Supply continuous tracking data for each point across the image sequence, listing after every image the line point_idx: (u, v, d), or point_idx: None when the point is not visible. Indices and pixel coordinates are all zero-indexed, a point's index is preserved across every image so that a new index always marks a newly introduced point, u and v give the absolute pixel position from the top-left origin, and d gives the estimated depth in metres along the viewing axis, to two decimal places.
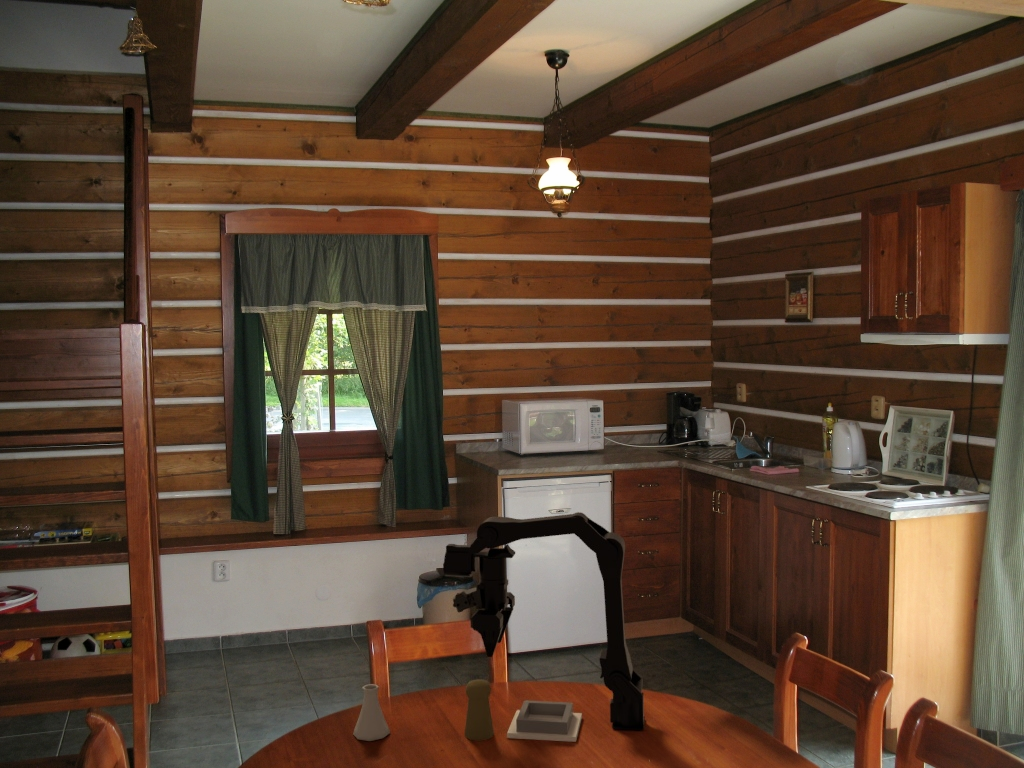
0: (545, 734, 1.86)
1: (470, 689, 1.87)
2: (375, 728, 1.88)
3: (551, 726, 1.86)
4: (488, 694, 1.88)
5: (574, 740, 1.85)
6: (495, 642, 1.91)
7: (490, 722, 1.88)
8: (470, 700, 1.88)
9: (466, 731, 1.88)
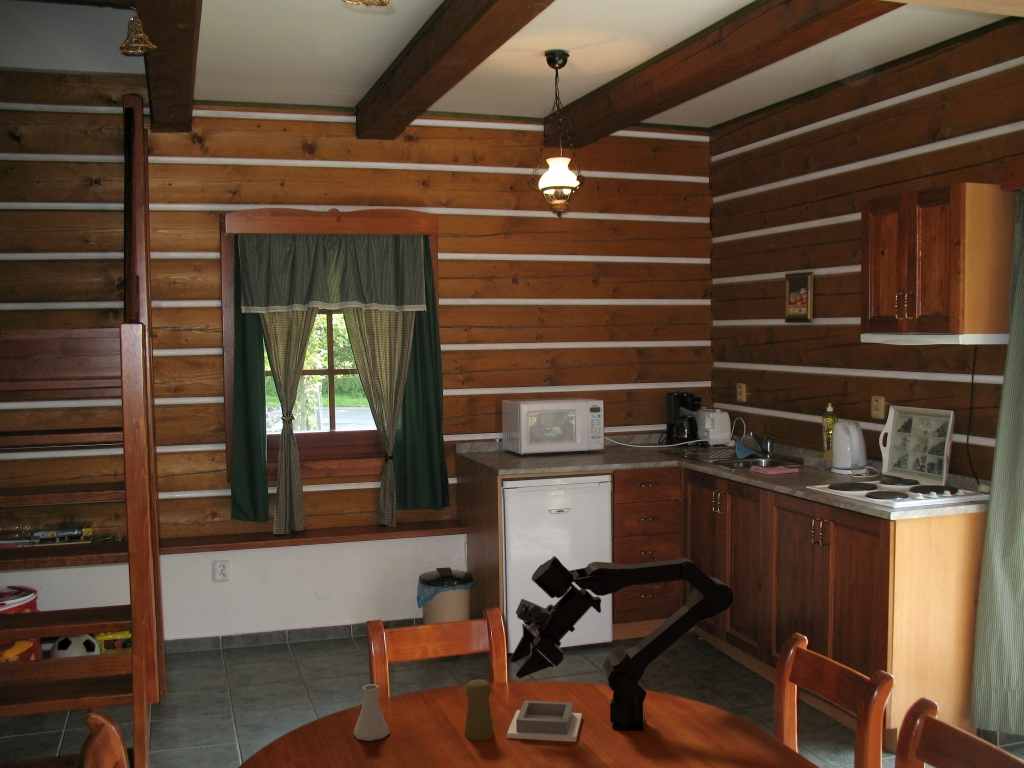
0: (545, 734, 1.86)
1: (470, 689, 1.87)
2: (375, 728, 1.88)
3: (551, 726, 1.86)
4: (488, 694, 1.88)
5: (574, 740, 1.85)
6: (535, 670, 1.84)
7: (490, 722, 1.88)
8: (470, 700, 1.88)
9: (466, 731, 1.88)
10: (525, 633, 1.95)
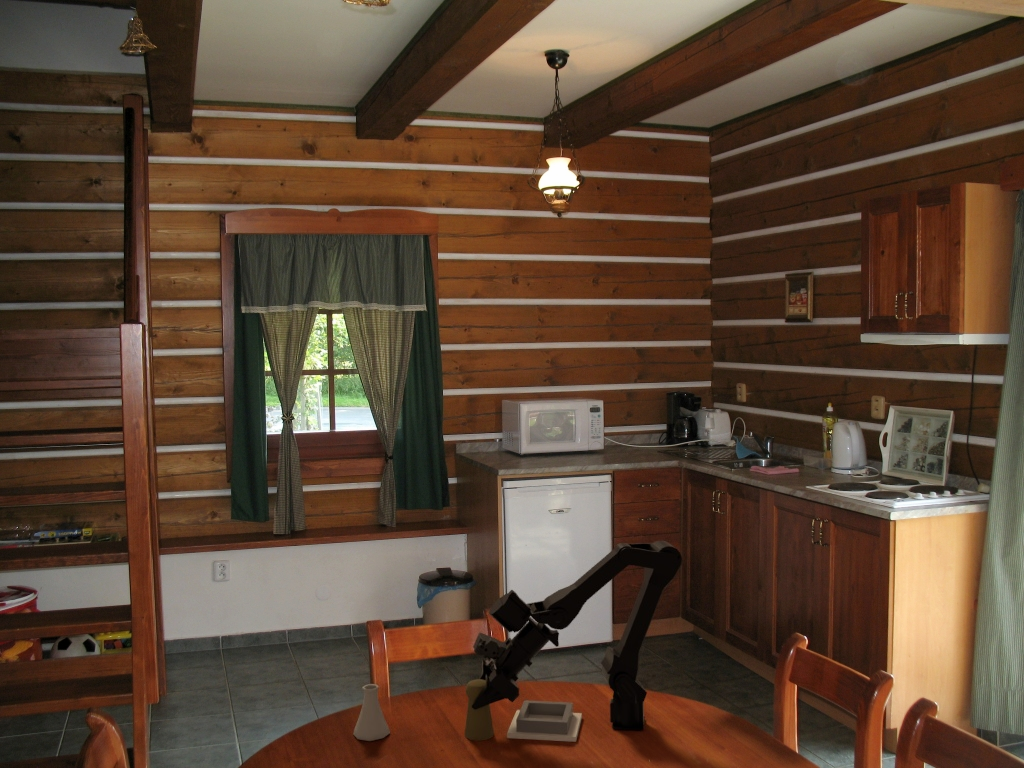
0: (545, 734, 1.86)
1: (470, 689, 1.87)
2: (375, 728, 1.88)
3: (551, 726, 1.86)
4: None
5: (574, 740, 1.85)
6: (490, 702, 1.85)
7: (490, 722, 1.88)
8: (470, 700, 1.88)
9: (466, 731, 1.88)
10: (484, 669, 1.92)
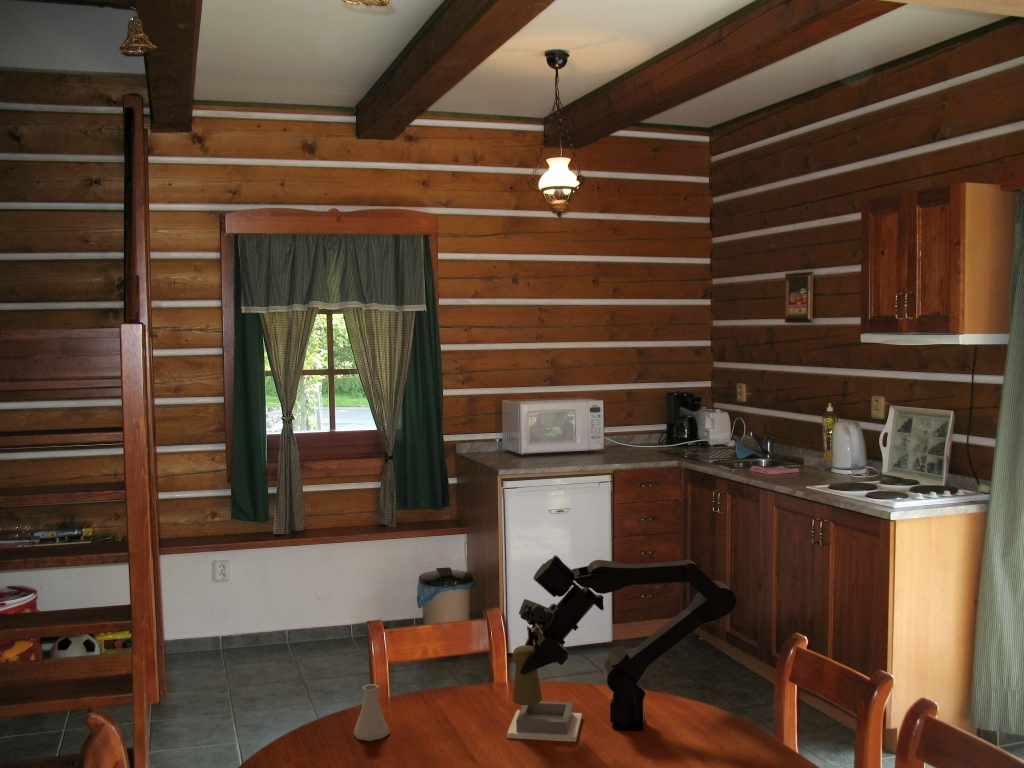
0: (545, 734, 1.86)
1: (517, 655, 1.89)
2: (375, 728, 1.88)
3: (551, 726, 1.86)
4: None
5: (574, 740, 1.85)
6: (538, 666, 1.87)
7: (538, 687, 1.90)
8: (518, 666, 1.89)
9: (515, 697, 1.89)
10: (530, 636, 1.94)
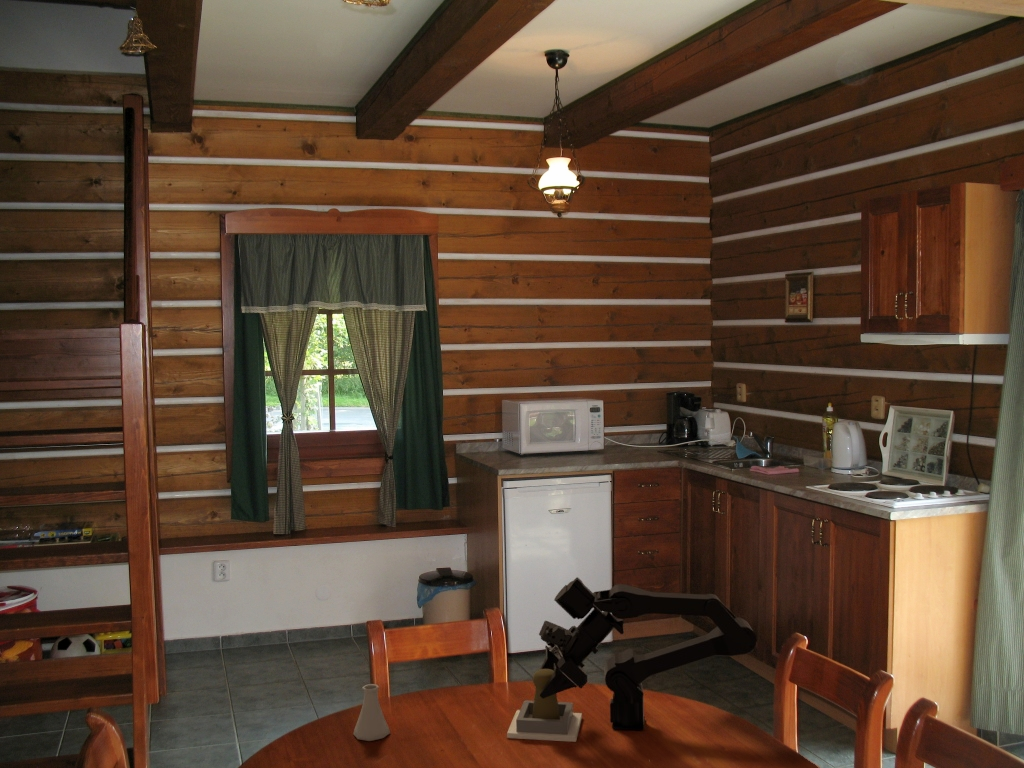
0: (545, 734, 1.86)
1: (537, 678, 1.90)
2: (375, 728, 1.88)
3: (551, 726, 1.86)
4: None
5: (574, 740, 1.85)
6: (558, 691, 1.87)
7: (557, 711, 1.91)
8: (538, 689, 1.90)
9: None
10: (548, 655, 1.96)
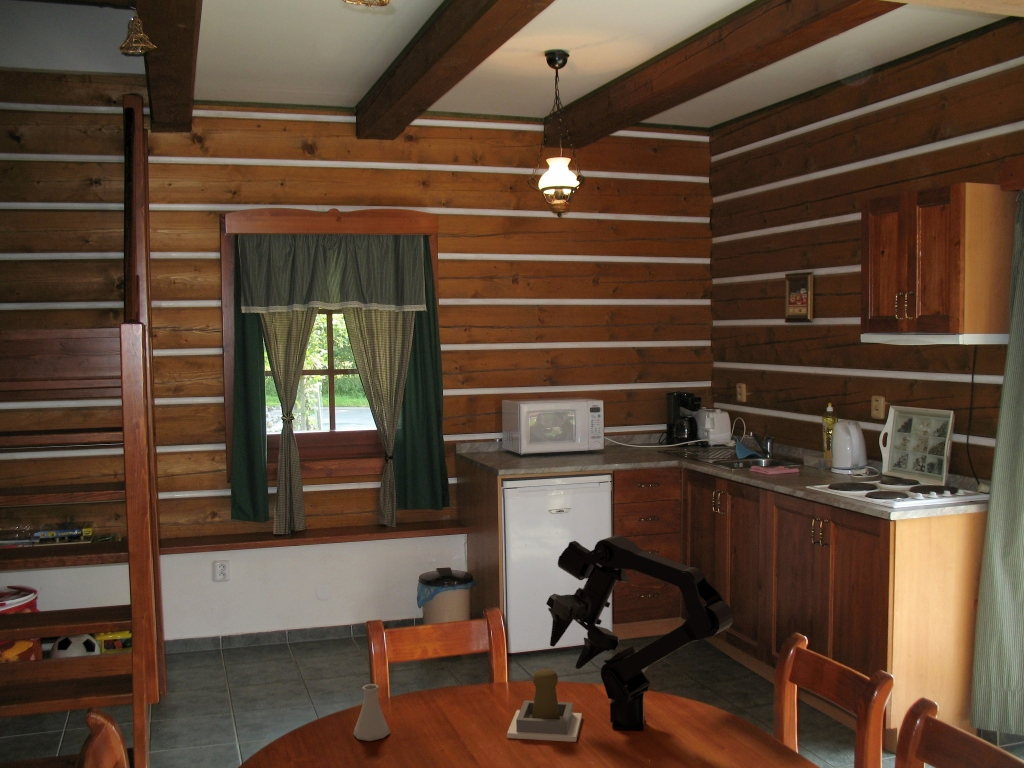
0: (545, 734, 1.86)
1: (537, 678, 1.90)
2: (375, 728, 1.88)
3: (551, 726, 1.86)
4: (555, 683, 1.90)
5: (574, 740, 1.85)
6: (592, 657, 1.92)
7: (557, 711, 1.91)
8: (537, 689, 1.90)
9: None
10: (557, 618, 1.99)
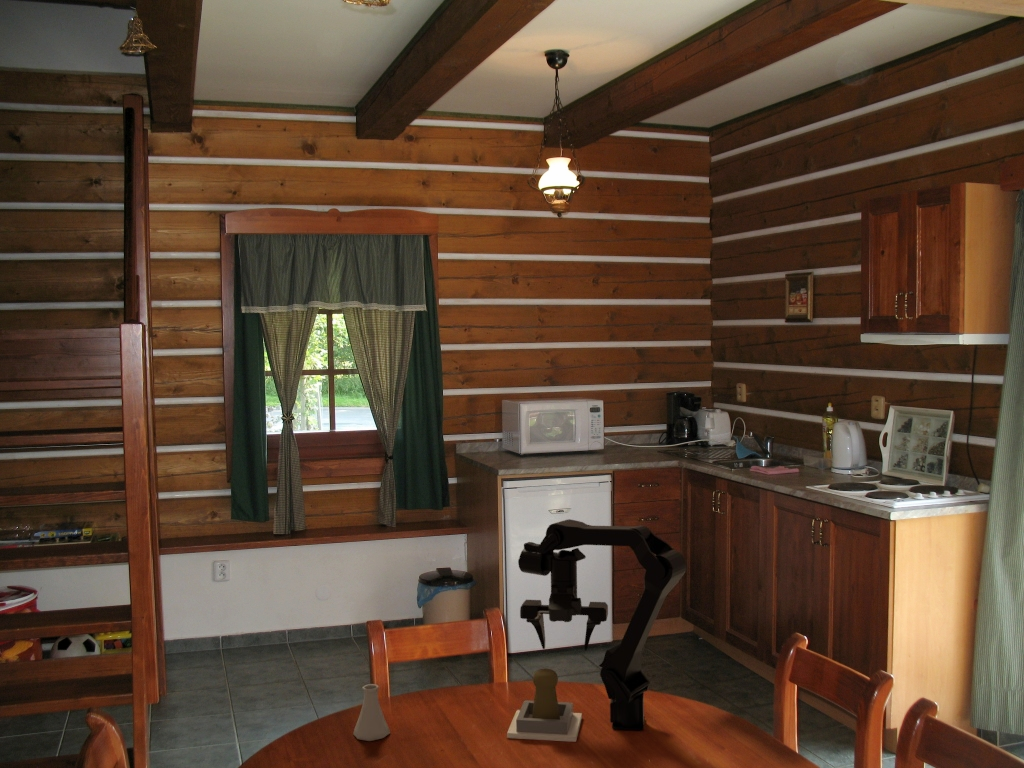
0: (545, 734, 1.86)
1: (537, 678, 1.90)
2: (375, 728, 1.88)
3: (551, 726, 1.86)
4: (555, 683, 1.90)
5: (574, 740, 1.85)
6: None
7: (557, 711, 1.91)
8: (538, 689, 1.90)
9: None
10: (540, 623, 2.01)
